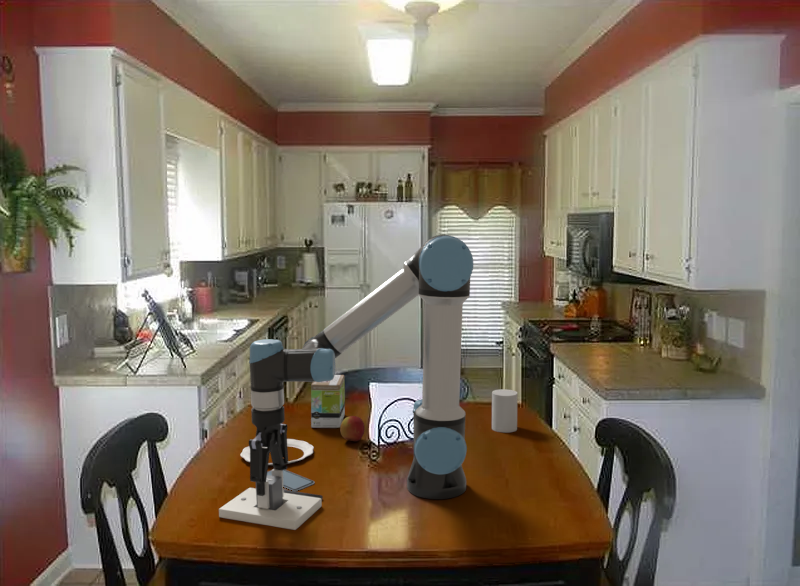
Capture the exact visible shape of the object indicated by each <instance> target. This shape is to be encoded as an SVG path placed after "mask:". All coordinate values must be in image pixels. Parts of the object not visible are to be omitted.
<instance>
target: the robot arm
mask: <svg viewBox="0 0 800 586" xmlns="http://www.w3.org/2000/svg"><path fill="white" fill-rule="evenodd" d="M473 270H474V258H473V254H472V252H471V250H470V248H469V246H468V245H467V244H466V243H465V242H464V241H463V240H461V239H460V238H457V237H456V236H453V235H448V234H438V235H435V236H432V237H430V238H429V239H427V240H426V241H425V242H424V243H423V244H422V245H421V246H420V248H419V249H418V250H417V251H416V252H414V254H412V255H411V256H410V257H409V258H408V259H407V260H405V261H404V263H403V267H402V269H400V270H399V271H398V272H396V273H395V274H394V275H392V276H390V278H388V279H387V280H386V281H385V282H383V283H382V284H381V285H379V286H378V287H377V288H375V289H374V290H373V291H372V292H370V293H369V294H367V296H365V297H364V298H362V299H361V300H360V301H358V302H357V303H356V304H355V305H354V306H352V307H351V308H349V309H348V310H347V311H345V312H344V313H343V314H341V315H340V316H339V317H338V318H337V319H335V320H334V321H333V322H332V323H330V324H329V325H327V326H326V327H325V328H324V329H323V330H322V331H319V332H318V333H317V334H316V335H314V336H311V337H310V338H309V339H308V340H307V341H305V342H304V345H303V346H302V348H291V349H290V348H284V346H283V342H282V341H281V340H280V339H273V338H271V339H268V338H266V339H257V340H255V341H253V342H252V343H251V344H250V346H249V361H248V363H249V375H250V376H249V377H250V379H249V380H250V402H251V404H250V405H251V410H250V411H251V423H252V425H254V427H256V430H255V431H256V432H255V437H254V438H253V439H252V438H251V439H249V440H248V446H249V447H250V462H249V480H250V482H253V483H255V484H256V483H257V502H258V507H259V508H265V509H268V508H270V506H269V481H268V480H266V478H267V472H268V471H269V470H268V469H269V465H268V463H270V462H269V461H270V457H271V463H273V465H272V467H273V469H271V470H270V471H271V472H272V476H278V477H282V493H283V497H284V489H285V488H283V469H284V470H287V469H288V465H289V464H288V461H289V450H288V446H287V439H288V438H287V437H288V434H287V433H288V424H285V423H284V422H285V406H283V405H284V404H285V393H284V392H285V391H284V386H285V385H284V382H285V383H286V382H287V383H288V382H289V383H290V382H296V383H297V382H306V383H307V382H309V383H313V382H322V381H331V380H333V378H334V376H335V375H336V374H335V373H336V359H337V358H338V357H339V356H341V355H342V354H343V353H344V352H345V351H347V350H348V349H349V348H350V347H352V346H353V345H355V344H356V343H357V342H358V341H359V340H362V338H364V337H365V336H367V335H368V334H369V333H370V332H372V331H373V330H375V329H376V328H377V327H379V326H380V325H381V324H382V323H384V322H385V321H386V320H387V319H389V318H390V317H392V316H393V315H394V314H396V313H397V312H398V311H399V310H401V309H402V308H404V307H405V306H406V305H407V304H409V303H410V302H412V301H413V300H415V298H417V297H418V296H419V297H420V298H421V299H422V300H423V302H424V325H423V326H424V327H423V358H422V359H423V362H422V398H421V399H418V400H416V401H415V402H414V403H413V410H412V413H413V416H412V417H413V420H412V421H413V460H412V461H411V462H412V463H411V465H410V469H409V472H408V474H407V479H406V489H407V490H408V492H409V493H411V494H412V495H414V496H416V497H419V498H423V499H429V500H446V499H452V498H456V497H458V496H461V495H462V494H464V493H465V491H467V478H466V474H465V472H464V471H465V470H464V469H463V463H464V462H465V459H466V456H467V452H468V451H467V449H468V447H467V443H466V440H465V439H466V438H465V435H466V431H465V430H466V411H465V410H464V408H462V407H461V406H460V393H461V392H460V388H461V387H460V386H461V366H462V365H461V363H462V361H461V359H462V358H461V357H462V337H463V334H462V332H463V331H462V330H463V305H464V303H465V302H466V301H467V299H469V297H470V294H471V292H470V291H471V276H472V274H473ZM262 447H268V448H262Z"/></svg>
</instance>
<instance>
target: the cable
mask: <svg viewBox="0 0 800 586" xmlns="http://www.w3.org/2000/svg"><path fill="white" fill-rule="evenodd" d="M283 489H284V493H289V494H296V495H303V496H310V497H316V498H321V500H323V498H324V497H323V495H321V494H314V493H308V492H303V491H302V492H300V491H291V490H288V489H286V488H283Z"/></svg>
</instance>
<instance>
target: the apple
mask: <svg viewBox="0 0 800 586" xmlns="http://www.w3.org/2000/svg"><path fill="white" fill-rule="evenodd" d="M339 429H340V435H341V437H342V438H343V439H345V440H347V441H350V442H359V441H360V440H361V439H362V438H363V436H364V434H365V423H364V421H363V419H362V418H361V417H359V416H356V415H349V416H346V417H345V418H343V420H342V423H341V426H340V428H339Z"/></svg>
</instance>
